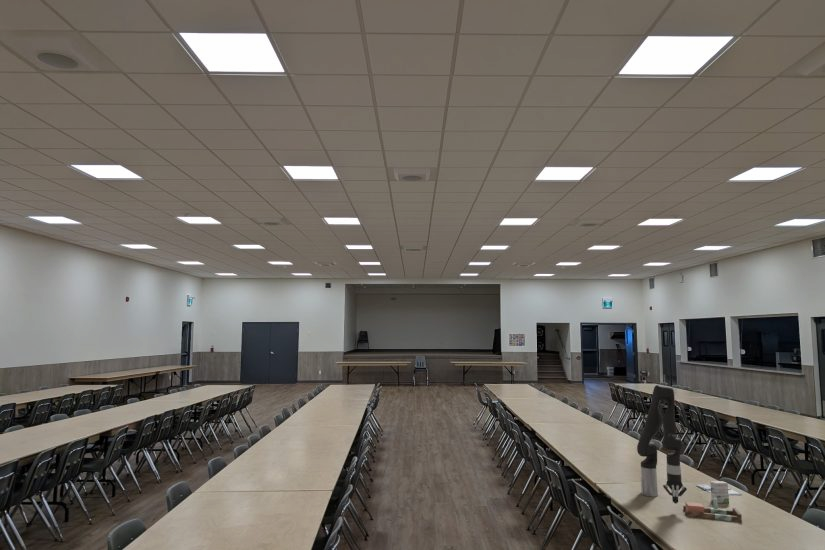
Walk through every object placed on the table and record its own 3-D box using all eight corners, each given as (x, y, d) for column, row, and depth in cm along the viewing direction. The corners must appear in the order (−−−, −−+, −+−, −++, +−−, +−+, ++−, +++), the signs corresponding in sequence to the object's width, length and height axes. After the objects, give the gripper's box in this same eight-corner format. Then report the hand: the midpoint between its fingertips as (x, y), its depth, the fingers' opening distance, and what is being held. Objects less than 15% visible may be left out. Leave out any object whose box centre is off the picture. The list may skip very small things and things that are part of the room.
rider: (689, 515, 284) (688, 505, 285) (685, 511, 290) (685, 502, 291) (704, 516, 282) (703, 506, 283) (701, 513, 288) (700, 503, 289)
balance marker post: (714, 511, 291) (713, 498, 292) (713, 510, 293) (712, 497, 294) (718, 511, 290) (717, 499, 291) (717, 510, 292) (716, 498, 293)
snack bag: (722, 486, 341) (722, 483, 341) (742, 496, 321) (742, 492, 321) (695, 486, 340) (695, 483, 340) (714, 496, 320) (713, 492, 320)
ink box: (724, 500, 311) (722, 480, 312) (729, 502, 306) (728, 483, 308) (711, 500, 311) (709, 480, 312) (716, 503, 306) (715, 483, 307)
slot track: (687, 516, 283) (686, 508, 283) (683, 509, 293) (683, 502, 294) (741, 522, 274) (741, 514, 275) (735, 515, 285) (735, 508, 285)
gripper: (662, 473, 291) (664, 503, 288) (687, 475, 286) (689, 506, 284) (660, 469, 298) (662, 499, 296) (685, 471, 294) (686, 502, 291)
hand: (675, 503), depth 290 cm, fingers closed
